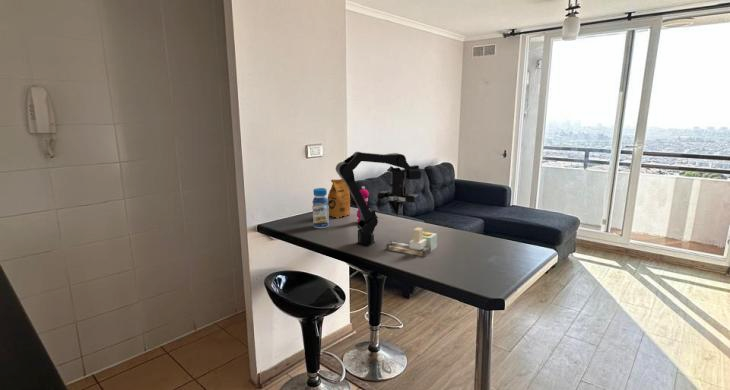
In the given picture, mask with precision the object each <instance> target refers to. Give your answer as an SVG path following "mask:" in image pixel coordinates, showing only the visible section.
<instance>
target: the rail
mask: <svg viewBox="0 0 730 390" xmlns="http://www.w3.org/2000/svg"><path fill="white" fill-rule="evenodd" d="M386 250H387V251H394V252H398V253H404V254H409V255H415V256H419V257H425V258H426V256H428V255H430V254H431V253H432V251H431V247H429V246H428V247H427V248H425V247H424V248H423V249H421V250H419V249H413V248H410V244H408V243H402V242H397V241H396V240H395V239H393V240H390V241H389V242H387V243H386Z"/></svg>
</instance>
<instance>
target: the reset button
mask: <svg viewBox="0 0 730 390" xmlns="http://www.w3.org/2000/svg"><path fill="white" fill-rule="evenodd" d="M423 232H424V233H423V236H430V235H431V233H432V232H429V231H423ZM428 232H429V233H428Z"/></svg>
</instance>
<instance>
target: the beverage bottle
mask: <svg viewBox="0 0 730 390" xmlns="http://www.w3.org/2000/svg"><path fill="white" fill-rule="evenodd" d="M327 194H328V193H327V188H323V187H318V188H317V187H316V188H313V196H314V197H313V200H312V222H313V223H312V224H313V225H312V226H313V228H315V229H326V228H328V227H330V222H329V221H330V219H329V218H330V217H329V210H328V209H329V206H328V197H327V196H328V195H327Z"/></svg>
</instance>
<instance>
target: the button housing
mask: <svg viewBox="0 0 730 390" xmlns="http://www.w3.org/2000/svg"><path fill="white" fill-rule="evenodd" d="M424 232H425V231H423V233H424ZM427 232H428V233H431V235H430V236H423V239H427V245H426V246H425V248H427V247H428V246H429V247H431V252H432V251H433V250H435V249H436V248H438V233H434V232H429V231H427Z"/></svg>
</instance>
